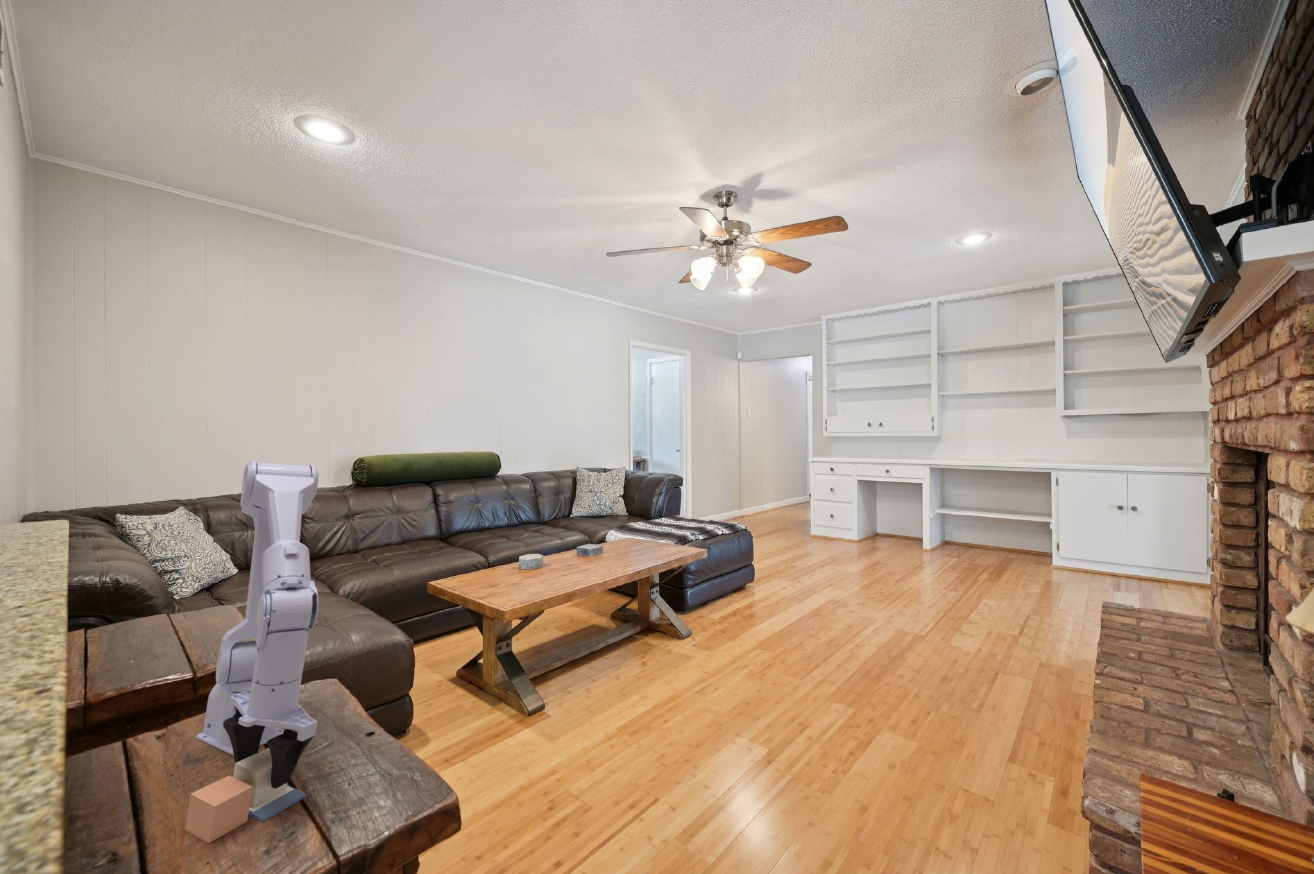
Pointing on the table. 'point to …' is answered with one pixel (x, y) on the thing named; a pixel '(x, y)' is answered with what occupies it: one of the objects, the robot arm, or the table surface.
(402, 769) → the table surface
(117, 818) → the table surface
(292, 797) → the blue flat board
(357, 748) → the table surface
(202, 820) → the terracotta block
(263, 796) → the cream block
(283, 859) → the table surface
